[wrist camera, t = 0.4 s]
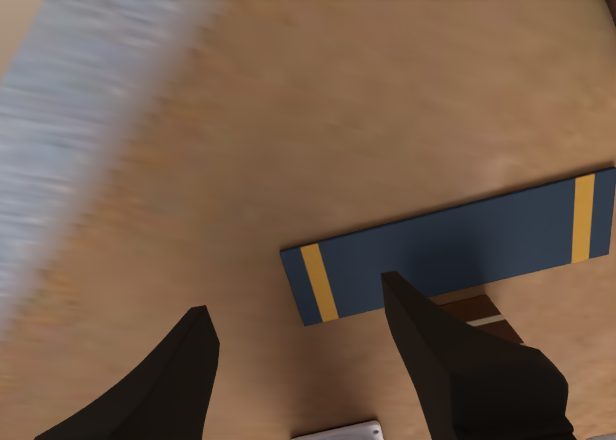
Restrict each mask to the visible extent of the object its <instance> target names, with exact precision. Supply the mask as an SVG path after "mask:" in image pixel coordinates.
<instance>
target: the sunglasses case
mask: <svg viewBox="0 0 616 440" xmlns="http://www.w3.org/2000/svg"><path fill="white" fill-rule="evenodd" d="M605 1H606V3H607V5H608V8H609V10H610V13H611V15H612V17H613V20H614V23H615V26H616V0H605Z"/></svg>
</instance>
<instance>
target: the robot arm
mask: <svg viewBox="0 0 616 440" xmlns="http://www.w3.org/2000/svg"><path fill="white" fill-rule="evenodd" d="M381 281H382V289H383V297H384V306H385V314H386V317H387V320H388V324H389V327H390V330H391V334H392V336H393V339H394V341H395V343H396V346H397V348H398V350H399V352H400V355H401V357H402V359H403V361H404V364H405V366H406V368H407V370H408V373H409V375H410V377H411V380H412V382H413V384H414V387H415V389H416V392H417V395H418V398H419V401H420V404H421V407H422V410H423V413H424V416H425V419H426V422H427V426H428V429H429V432H430V435H431V438H432V440H577V439H576V438H575V436H574V435H573V434H572V433H573V431H574V429H573V426H572V424H571V423H570V422H569V420H568V419H567V418H566V416H565V411H566V405H567V398H568V383H567V381H566V379H565V377H564V376H563V375H562V373H561V372H560V371H559V370H558V369H557V367H556V366H555V365H554V364H553V363H552V362H551V361H550V360H549V359H548V358H547V357H546V356H545V355H544V354H543V353H542V352H541V351H540V350H538V349H535V348H532V347H528V346H525V345H521V344H518V343H514V342H511V341H508V340H506V339H503V338H500V337H497V336H495V335H492V334H490V333H487V332H485V331H483V330H481V329H478V328H476V327H474V326H472V325H470V324H468V323H466V322H464V321H462V320H460V319H459V318H457V317H455V316H453V315H452V314H450V313H448V312H447V311H445V310H444V309H442V308H441V307H439V306H438V305H436V304H435V303H434V302H432V301H431V300H430V299H428V298H427V297H426V296H425V295H423V294H422V293H421V292H420V291H418V290H417V289H416V288H415V287H414V286H413V285H411V284H410V283H409V282H408V281H407V280H406V279H405V278H404V277H403V276H402V275H401V274H400V273H399V272H397V271H396V270H395V271H390V272H384V273H381ZM219 347H220V342H219V340H218V337H217V334H216V331H215V329H214V326H213V323H212V321H211V318H210V315H209V313H208V310H207V307H206V305H203V306H198V307H192V308H190V309H189V311H188V312H187V313H186V314H185V315H184V316H183V317H182V318H181V320H180V321H179V322H178V323H177V324H176V325H175V326H174V328H173V329H172V330H171V331H170V332H169V333H168V334H167V336H166V337H165V338H164V339H163V340H162V341H161V342H160V343H159V344H158V345H157V346H156V347H155V349H154V350H153V351H152V352H151V353H150V354H149V355H148V356H147V357H146V358H145V359H144V360H143V361H142V362H141V363H140V364H139V365H138V366H137V367H136V368H134V369H133V370H132V371H131V372H130V373H129V374H128V375H127V376H125V377H124V378H123V379H122V380H121V381H120V382H118V383H117V384H116V385H114V386H113V387H112V388H111V389H109V390H108V391H107V392H105V393H104V394H103V395H102V396H100V397H99V398H98V399H96V400H95V401H93V402H92V403H90V404H89V405H88V406H86V407H85V408H83V409H82V410H80V411H79V412H77V413H76V414H74V415H72V416H71V417H69V418H68V419H66V420H64V421H63V422H61V423H59V424H58V425H56V426H54V427H52V428H51V429H49V430H47V431H45V432H44V433H42V434H40V435H38V436H37V437H35V439H34V440H202V434H203V427H204V422H205V417H206V413H207V409H208V405H209V401H210V397H211V393H212V388H213V384H214V380H215V376H216V371H217V367H218V358H219ZM292 440H384V438H383V434H382V431H381V427H380V423H379V422H378V421H370V422H365V423H361V424H356V425H351V426H347V427H342V428H338V429H333V430H329V431H324V432H319V433H315V434H310V435H306V436H301V437H297V438H293V439H292ZM586 440H616V433H613V434H607V435H601V436H595V437H591V438H588V439H586Z"/></svg>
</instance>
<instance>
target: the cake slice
mask: <svg viewBox="0 0 616 440" xmlns="http://www.w3.org/2000/svg"><path fill="white" fill-rule="evenodd" d="M439 307H441V308H442V309H444V310H445V311H447V312H448V313H450V314H452V315H453V316H455V317H457V318H459V319H460V320H462V321H464V322H466V323H468V324H470V325H472V326H474V327H476V328H478V329H481V330H483V331H485V332H487V333H490V334H492V335H495V336H497V337H500V338H503V339H506V340H508V341H511V342H514V343H518V344H521V345H525V343H524V342H523V341H522V339H521V338H520V337H519V336H518V334H517V333H516V332H515V330H514V329H513V328H512V327H511V325H510V324H509V323H508V322H507V320H506V319H505V318H504V316H503V315H502V314H501V313H500V311H499V310H498V309H497V308H496V306H495V305H494V304H493V303H492V301H491V300H490V299H489V297H488V296H487V295H484V296H479V297H475V298H471V299H467V300H462V301H458V302H454V303H450V304H445V305H441V306H439ZM525 346H526V345H525Z"/></svg>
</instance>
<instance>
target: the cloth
mask: <svg viewBox="0 0 616 440" xmlns="http://www.w3.org/2000/svg"><path fill="white" fill-rule="evenodd" d="M615 186H616V167H610V168H606V169H602V170H598V171H594V172H590V173H586V174H583V175H579V176H575V177H571V178H567V179H563V180H559V181H555V182H551V183H547V184H543V185H539V186H535V187H531V188H527V189H523V190H519V191H515V192H511V193H507V194H503V195H499V196H495V197H491V198H487V199H483V200H479V201H475V202H471V203H467V204H463V205H459V206H456V207H452V208H448V209H444V210H440V211H436V212H432V213H428V214H424V215H420V216H416V217H412V218H408V219H404V220H400V221H396V222H392V223H388V224H384V225H380V226H376V227H372V228H368V229H364V230H360V231H356V232H352V233H348V234H344V235H340V236H336V237H332V238H329V239H325V240H321V241H317V242H313V243H309V244H305V245H301V246H297V247H293V248H289V249H285V250H281V251H280V255H281V258H282V261H283V264H284V267H285V270H286V273H287V276H288V279H289V282H290V285H291V288H292V291H293V293H294V296H295V299H296V302H297V305H298V308H299V311H300V314H301V317H302V320H303V323H304V326H308V325H313V324H317V323H321V322H326V321H330V320H334V319H339V318H342V317H346V316H351V315H355V314H359V313H363V312H367V311H372V310H376V309H380V308H384V307H385V306H384V297H383V289H382V281H381V273H384V272H390V271H395V270H396V271H397V272H399V273H400V274H401V275H402V276H403V277H404V278H405V279H406V280H407V281H408V282H409V283H410V284H411V285H413V286H414V287H415V288H416V289H417V290H418V291H420V292H421V293H422V294H423V295H425V296H426V297H430V296H435V295H439V294H443V293H447V292H452V291H456V290H460V289H464V288H468V287H473V286H477V285H481V284H485V283H489V282H494V281H498V280H502V279H506V278H510V277H515V276H519V275H523V274H527V273H531V272H536V271H540V270H544V269H548V268H552V267H557V266H561V265H565V264H569V263H574V262H578V261H583V260H587V259H590V258H595V257H599V256H603V255H607V254H609V246H610V236H611V226H612V216H613V206H614V196H615Z"/></svg>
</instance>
